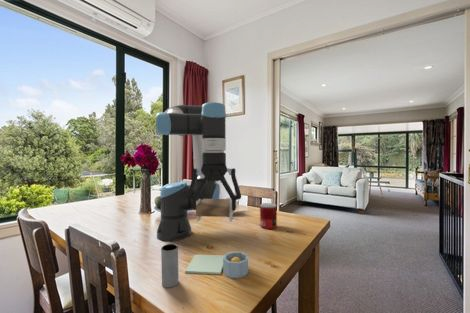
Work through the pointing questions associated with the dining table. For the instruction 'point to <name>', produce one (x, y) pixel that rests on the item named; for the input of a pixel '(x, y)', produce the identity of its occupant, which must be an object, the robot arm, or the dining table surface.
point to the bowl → (235, 264)
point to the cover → (213, 208)
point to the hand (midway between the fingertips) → (214, 219)
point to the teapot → (236, 203)
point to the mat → (206, 264)
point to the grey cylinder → (169, 265)
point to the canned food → (268, 216)
